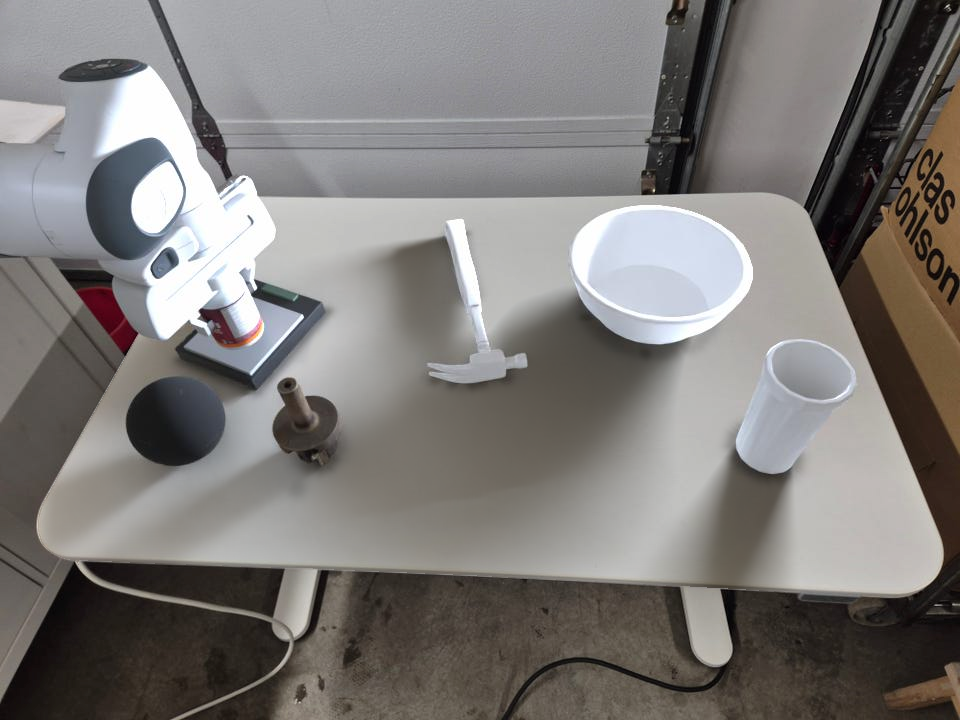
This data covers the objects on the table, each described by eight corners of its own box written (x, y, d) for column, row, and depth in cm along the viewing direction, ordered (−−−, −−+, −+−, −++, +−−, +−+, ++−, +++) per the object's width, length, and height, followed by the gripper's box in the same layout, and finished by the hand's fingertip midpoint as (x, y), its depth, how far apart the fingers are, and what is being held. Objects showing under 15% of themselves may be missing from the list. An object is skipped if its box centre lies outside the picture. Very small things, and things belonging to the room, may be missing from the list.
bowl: (669, 235, 92) (681, 187, 86) (771, 334, 79) (794, 286, 72) (536, 280, 87) (537, 233, 81) (620, 394, 74) (630, 349, 67)
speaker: (233, 399, 76) (201, 347, 69) (243, 464, 70) (209, 414, 63) (150, 426, 74) (107, 374, 67) (152, 494, 68) (106, 447, 61)
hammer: (432, 391, 76) (429, 375, 73) (407, 240, 95) (404, 224, 92) (528, 374, 77) (528, 358, 74) (484, 228, 96) (483, 212, 93)
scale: (256, 390, 77) (249, 377, 75) (180, 358, 81) (171, 345, 79) (325, 311, 86) (321, 298, 84) (253, 287, 90) (247, 273, 88)
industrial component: (293, 420, 74) (261, 356, 65) (352, 418, 74) (328, 353, 64) (276, 490, 68) (238, 430, 59) (341, 489, 67) (313, 428, 58)
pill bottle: (206, 337, 78) (167, 270, 69) (245, 309, 81) (212, 242, 72) (236, 359, 75) (198, 292, 66) (275, 330, 78) (244, 261, 69)
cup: (807, 434, 69) (861, 351, 58) (798, 494, 64) (855, 416, 53) (733, 411, 71) (771, 328, 60) (719, 467, 67) (758, 388, 56)
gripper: (224, 160, 71) (262, 253, 82) (82, 269, 60) (148, 361, 70) (267, 172, 69) (300, 265, 80) (129, 286, 57) (190, 378, 68)
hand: (228, 311), depth 75 cm, fingers closed on pill bottle, 6 cm apart
